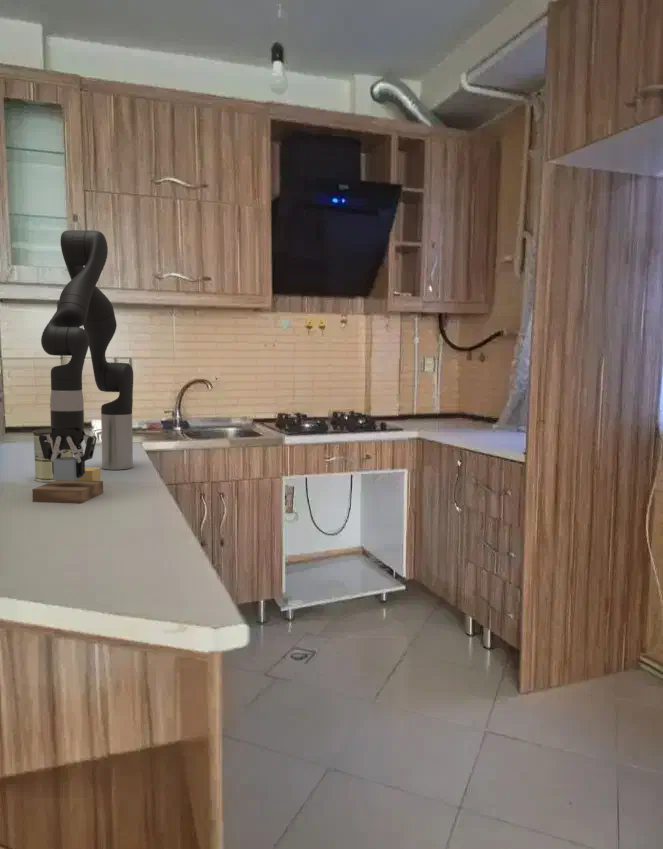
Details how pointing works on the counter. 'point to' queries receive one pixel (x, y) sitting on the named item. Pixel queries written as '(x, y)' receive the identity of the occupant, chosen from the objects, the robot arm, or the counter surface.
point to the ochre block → (91, 474)
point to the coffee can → (41, 464)
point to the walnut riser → (67, 491)
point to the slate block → (65, 468)
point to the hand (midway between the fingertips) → (68, 476)
